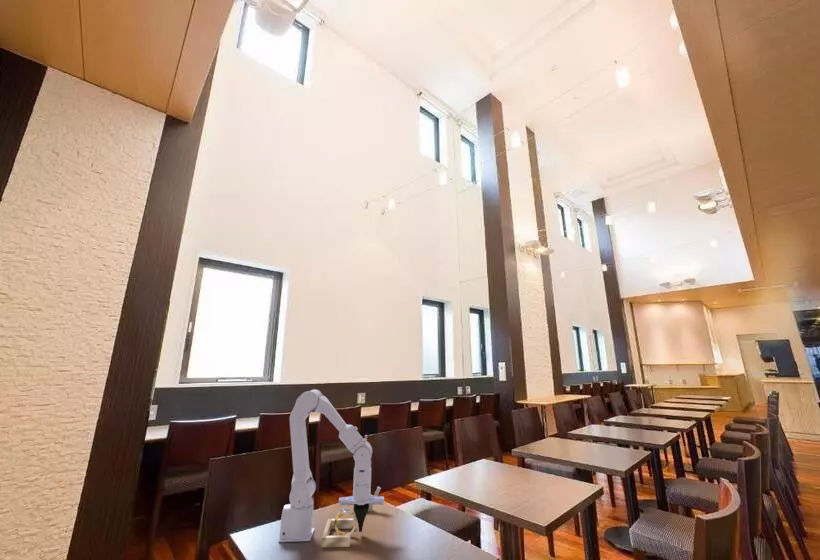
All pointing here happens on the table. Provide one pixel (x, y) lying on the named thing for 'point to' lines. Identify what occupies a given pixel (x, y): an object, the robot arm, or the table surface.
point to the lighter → (374, 495)
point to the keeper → (340, 539)
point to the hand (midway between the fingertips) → (360, 530)
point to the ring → (343, 511)
